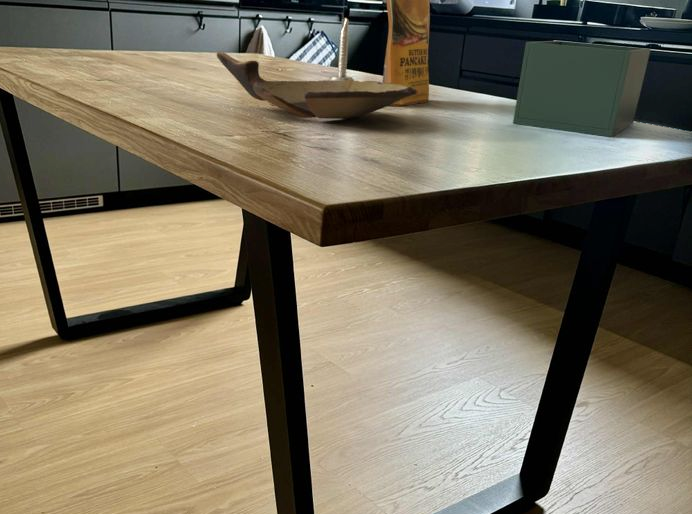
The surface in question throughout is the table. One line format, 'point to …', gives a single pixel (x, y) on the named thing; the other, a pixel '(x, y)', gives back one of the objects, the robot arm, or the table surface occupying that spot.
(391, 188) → the table surface
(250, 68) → the tan shallow curved dish
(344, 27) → the screw
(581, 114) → the waste bin
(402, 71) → the pancake mix bag
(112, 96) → the table surface
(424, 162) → the table surface
